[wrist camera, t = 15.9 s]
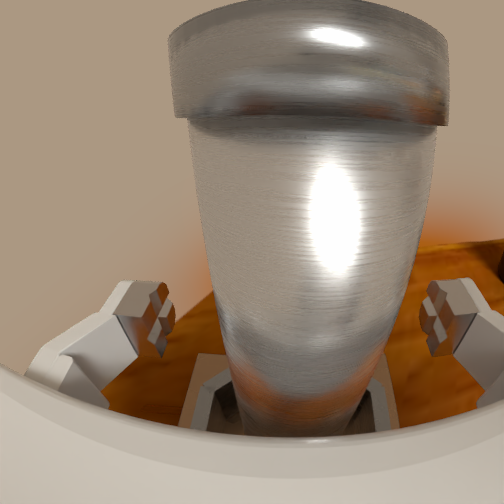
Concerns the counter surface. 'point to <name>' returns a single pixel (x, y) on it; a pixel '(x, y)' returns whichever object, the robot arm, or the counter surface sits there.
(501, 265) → the supplement bottle
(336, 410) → the grey tall capped cylinder
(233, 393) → the duct collar
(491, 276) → the counter surface
